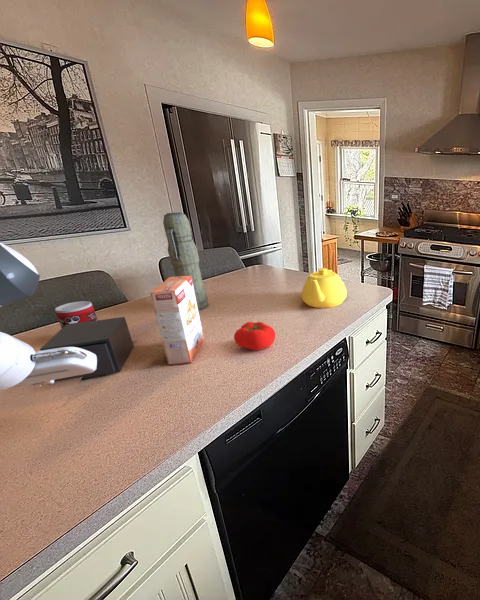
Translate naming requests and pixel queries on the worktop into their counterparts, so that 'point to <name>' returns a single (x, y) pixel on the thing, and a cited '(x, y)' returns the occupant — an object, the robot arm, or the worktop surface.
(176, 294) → the cracker box
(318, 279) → the teapot
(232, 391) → the worktop surface
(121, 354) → the small drawer unit
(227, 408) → the worktop surface
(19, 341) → the robot arm
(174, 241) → the thermos
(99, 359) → the drawer
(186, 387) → the worktop surface
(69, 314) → the canned food
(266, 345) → the tomato
